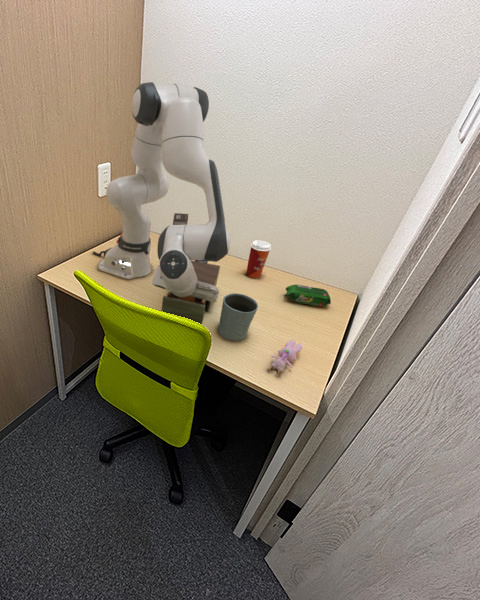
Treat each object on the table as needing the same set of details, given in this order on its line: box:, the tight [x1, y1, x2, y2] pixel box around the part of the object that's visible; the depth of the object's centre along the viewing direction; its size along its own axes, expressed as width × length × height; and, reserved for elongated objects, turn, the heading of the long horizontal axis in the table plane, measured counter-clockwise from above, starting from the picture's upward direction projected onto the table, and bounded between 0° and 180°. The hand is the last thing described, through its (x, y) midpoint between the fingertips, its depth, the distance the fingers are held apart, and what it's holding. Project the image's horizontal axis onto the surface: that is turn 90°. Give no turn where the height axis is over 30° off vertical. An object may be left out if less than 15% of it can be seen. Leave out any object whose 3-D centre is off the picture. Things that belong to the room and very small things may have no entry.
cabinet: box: [190, 260, 221, 313], centre depth 123 cm, size 16×15×11 cm
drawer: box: [161, 291, 207, 325], centre depth 112 cm, size 19×13×9 cm
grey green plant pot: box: [217, 292, 259, 342], centre depth 105 cm, size 10×10×12 cm
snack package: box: [284, 284, 332, 307], centre depth 122 cm, size 7×16×5 cm, turn 70°
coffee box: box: [172, 212, 189, 225], centre depth 154 cm, size 9×6×16 cm
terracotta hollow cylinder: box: [178, 296, 196, 303], centre depth 111 cm, size 6×6×7 cm
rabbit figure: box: [267, 340, 303, 377], centre depth 96 cm, size 6×6×15 cm
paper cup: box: [245, 239, 272, 279], centre depth 135 cm, size 8×8×14 cm
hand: (187, 292), depth 111 cm, fingers closed on terracotta hollow cylinder, 5 cm apart
